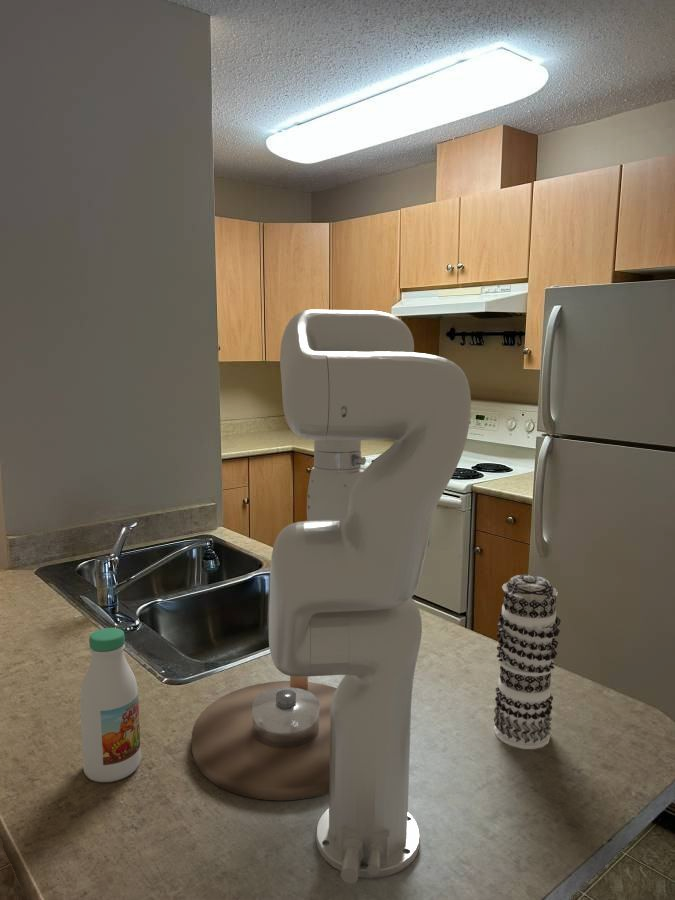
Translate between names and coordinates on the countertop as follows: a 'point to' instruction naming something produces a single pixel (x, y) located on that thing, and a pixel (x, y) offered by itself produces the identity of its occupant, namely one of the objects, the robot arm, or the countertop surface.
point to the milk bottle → (109, 710)
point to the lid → (285, 717)
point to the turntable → (262, 747)
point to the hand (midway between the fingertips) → (336, 569)
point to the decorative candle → (526, 662)
